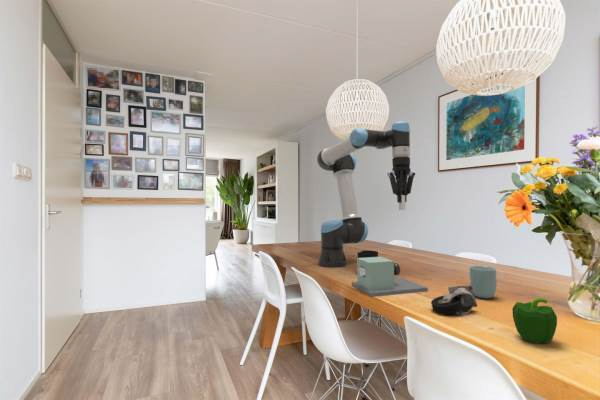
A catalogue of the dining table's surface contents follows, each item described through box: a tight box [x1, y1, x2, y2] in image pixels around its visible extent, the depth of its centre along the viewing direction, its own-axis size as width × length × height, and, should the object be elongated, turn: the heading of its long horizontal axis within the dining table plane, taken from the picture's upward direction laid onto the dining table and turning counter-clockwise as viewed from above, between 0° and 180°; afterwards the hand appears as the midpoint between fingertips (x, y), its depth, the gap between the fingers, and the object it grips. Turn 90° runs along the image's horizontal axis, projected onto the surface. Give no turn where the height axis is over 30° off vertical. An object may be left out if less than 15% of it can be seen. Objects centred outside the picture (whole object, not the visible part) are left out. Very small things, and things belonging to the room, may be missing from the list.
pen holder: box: [357, 249, 379, 258], centre depth 144 cm, size 9×9×10 cm
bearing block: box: [351, 256, 429, 297], centre depth 119 cm, size 16×23×11 cm
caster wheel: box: [430, 284, 478, 316], centre depth 92 cm, size 7×11×10 cm
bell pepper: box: [511, 297, 558, 344], centre depth 73 cm, size 8×8×10 cm
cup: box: [469, 265, 498, 300], centre depth 106 cm, size 8×8×10 cm
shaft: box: [358, 262, 401, 276], centre depth 118 cm, size 5×16×5 cm, turn 105°
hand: (402, 209), depth 138 cm, fingers closed
